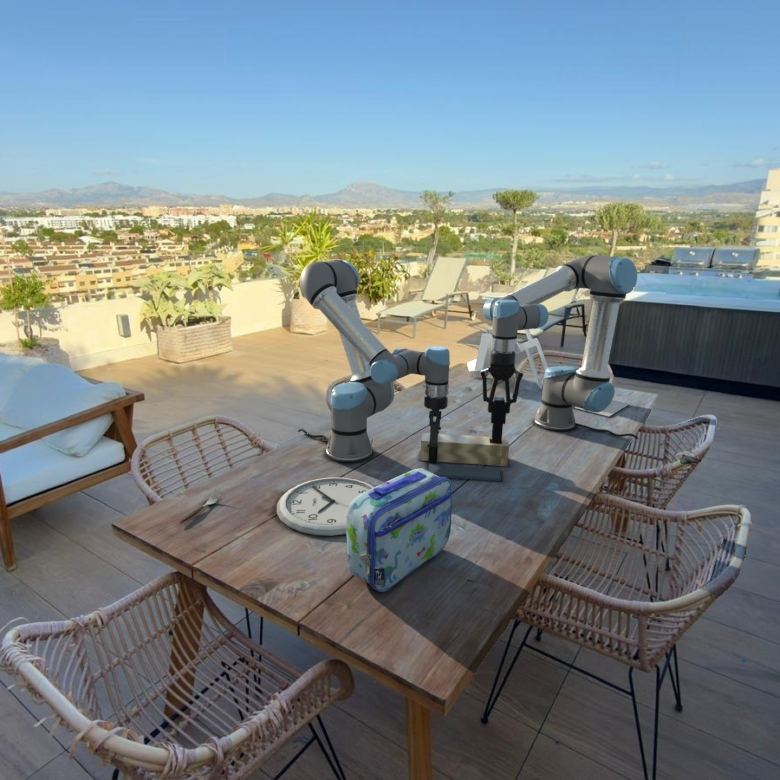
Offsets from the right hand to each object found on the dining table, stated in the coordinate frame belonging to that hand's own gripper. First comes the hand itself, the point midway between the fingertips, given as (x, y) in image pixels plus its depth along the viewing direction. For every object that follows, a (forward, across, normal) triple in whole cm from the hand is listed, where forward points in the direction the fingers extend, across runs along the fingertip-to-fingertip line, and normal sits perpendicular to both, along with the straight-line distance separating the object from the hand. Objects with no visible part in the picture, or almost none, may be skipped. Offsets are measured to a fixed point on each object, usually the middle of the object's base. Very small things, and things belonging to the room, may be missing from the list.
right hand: (497, 421), depth 168 cm
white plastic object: (+14, -12, -92) cm, 94 cm away
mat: (+13, +10, +11) cm, 20 cm away
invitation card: (+15, -50, -63) cm, 81 cm away
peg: (+9, 0, 0) cm, 9 cm away
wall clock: (+13, +46, +36) cm, 60 cm away
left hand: (+13, +20, 0) cm, 24 cm away
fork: (+13, +80, +44) cm, 93 cm away
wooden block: (+14, +10, 0) cm, 17 cm away
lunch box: (+13, +25, +60) cm, 67 cm away
